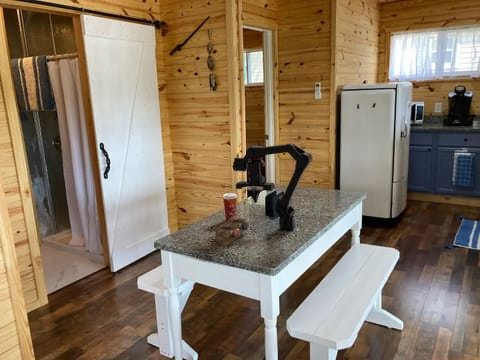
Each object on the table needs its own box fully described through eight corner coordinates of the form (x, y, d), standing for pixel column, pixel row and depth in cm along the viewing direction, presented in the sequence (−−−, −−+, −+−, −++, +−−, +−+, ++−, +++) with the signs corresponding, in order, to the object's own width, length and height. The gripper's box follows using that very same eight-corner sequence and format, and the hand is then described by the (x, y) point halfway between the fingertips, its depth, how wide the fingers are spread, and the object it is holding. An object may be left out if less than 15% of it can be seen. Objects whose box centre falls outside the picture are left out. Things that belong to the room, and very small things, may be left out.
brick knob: (240, 236, 180) (240, 227, 179) (236, 239, 176) (236, 230, 175) (224, 234, 183) (224, 226, 182) (220, 237, 180) (220, 229, 179)
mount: (245, 229, 193) (245, 217, 192) (228, 245, 175) (227, 231, 174) (234, 228, 195) (234, 216, 194) (216, 243, 178) (215, 230, 176)
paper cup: (233, 223, 203) (231, 197, 200) (221, 221, 207) (219, 195, 204) (241, 218, 209) (240, 193, 206) (229, 217, 213) (227, 192, 210)
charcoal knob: (249, 228, 189) (248, 220, 188) (245, 231, 185) (245, 223, 184) (233, 227, 192) (233, 219, 191) (230, 229, 188) (229, 221, 187)
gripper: (277, 169, 195) (278, 199, 199) (243, 167, 202) (244, 197, 206) (270, 174, 185) (271, 205, 189) (234, 172, 193) (236, 203, 196)
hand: (255, 202), depth 195 cm, fingers closed
